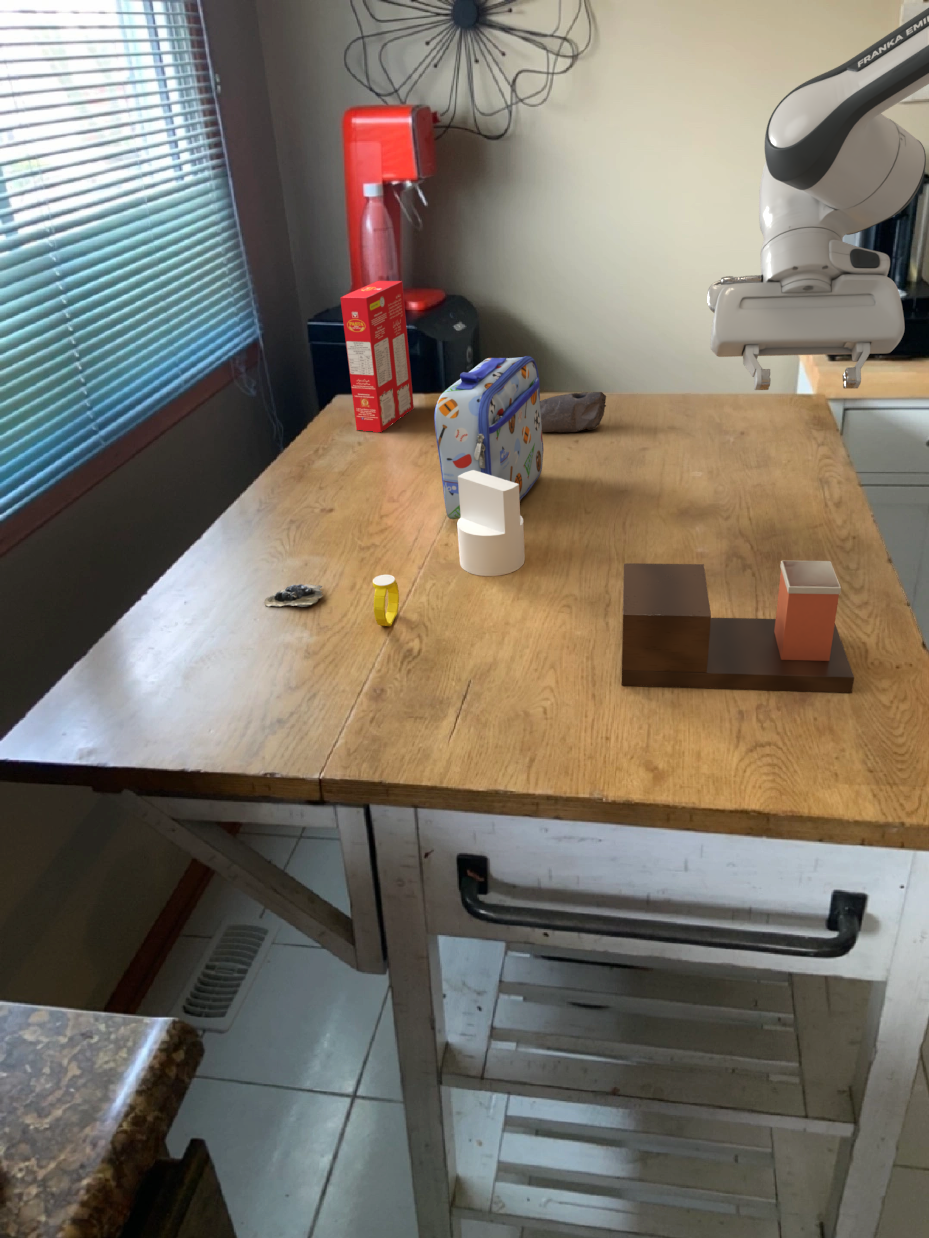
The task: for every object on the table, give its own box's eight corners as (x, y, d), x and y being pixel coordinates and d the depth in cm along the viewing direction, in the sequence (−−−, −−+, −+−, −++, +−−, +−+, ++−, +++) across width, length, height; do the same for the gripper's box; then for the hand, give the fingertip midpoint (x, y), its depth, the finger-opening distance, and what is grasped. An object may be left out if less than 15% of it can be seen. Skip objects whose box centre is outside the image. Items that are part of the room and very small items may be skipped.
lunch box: (501, 540, 140) (493, 391, 129) (434, 534, 143) (421, 388, 132) (550, 472, 162) (548, 339, 151) (491, 468, 166) (485, 338, 155)
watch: (385, 608, 125) (380, 567, 122) (406, 610, 124) (401, 568, 121) (371, 632, 120) (365, 589, 117) (392, 633, 119) (387, 591, 116)
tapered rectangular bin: (820, 632, 109) (830, 560, 105) (830, 661, 104) (841, 587, 100) (773, 631, 110) (780, 560, 106) (780, 660, 105) (788, 587, 100)
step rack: (831, 634, 112) (841, 565, 108) (851, 692, 102) (863, 619, 98) (622, 630, 116) (623, 563, 112) (621, 685, 106) (622, 614, 102)
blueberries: (324, 608, 126) (322, 595, 125) (262, 615, 125) (260, 602, 124) (323, 584, 132) (321, 572, 131) (264, 591, 131) (262, 579, 130)
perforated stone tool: (525, 437, 178) (524, 400, 174) (525, 428, 182) (524, 392, 179) (607, 434, 177) (608, 396, 173) (605, 424, 181) (605, 388, 178)
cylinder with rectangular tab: (538, 558, 134) (535, 477, 128) (493, 582, 129) (488, 499, 123) (491, 541, 140) (487, 463, 134) (446, 563, 135) (440, 483, 129)
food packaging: (390, 407, 199) (377, 280, 186) (413, 409, 197) (402, 281, 185) (356, 430, 187) (340, 297, 175) (380, 432, 185) (366, 298, 173)
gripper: (710, 261, 107) (712, 374, 104) (904, 254, 105) (913, 371, 101) (704, 293, 113) (705, 401, 110) (887, 288, 111) (895, 399, 107)
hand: (807, 387), depth 106 cm, fingers open, 8 cm apart
